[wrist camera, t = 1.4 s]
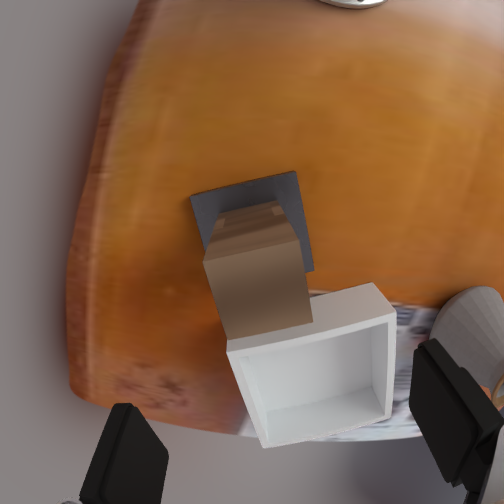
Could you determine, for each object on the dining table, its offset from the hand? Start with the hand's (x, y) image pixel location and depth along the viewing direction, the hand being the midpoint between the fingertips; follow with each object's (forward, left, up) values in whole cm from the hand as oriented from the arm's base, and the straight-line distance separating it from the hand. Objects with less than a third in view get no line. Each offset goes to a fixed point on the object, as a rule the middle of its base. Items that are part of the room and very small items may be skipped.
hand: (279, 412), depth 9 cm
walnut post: (0, 0, -19) cm, 19 cm away
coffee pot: (+19, +26, -21) cm, 38 cm away
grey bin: (+15, +3, -20) cm, 25 cm away
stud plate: (0, 0, -20) cm, 20 cm away
